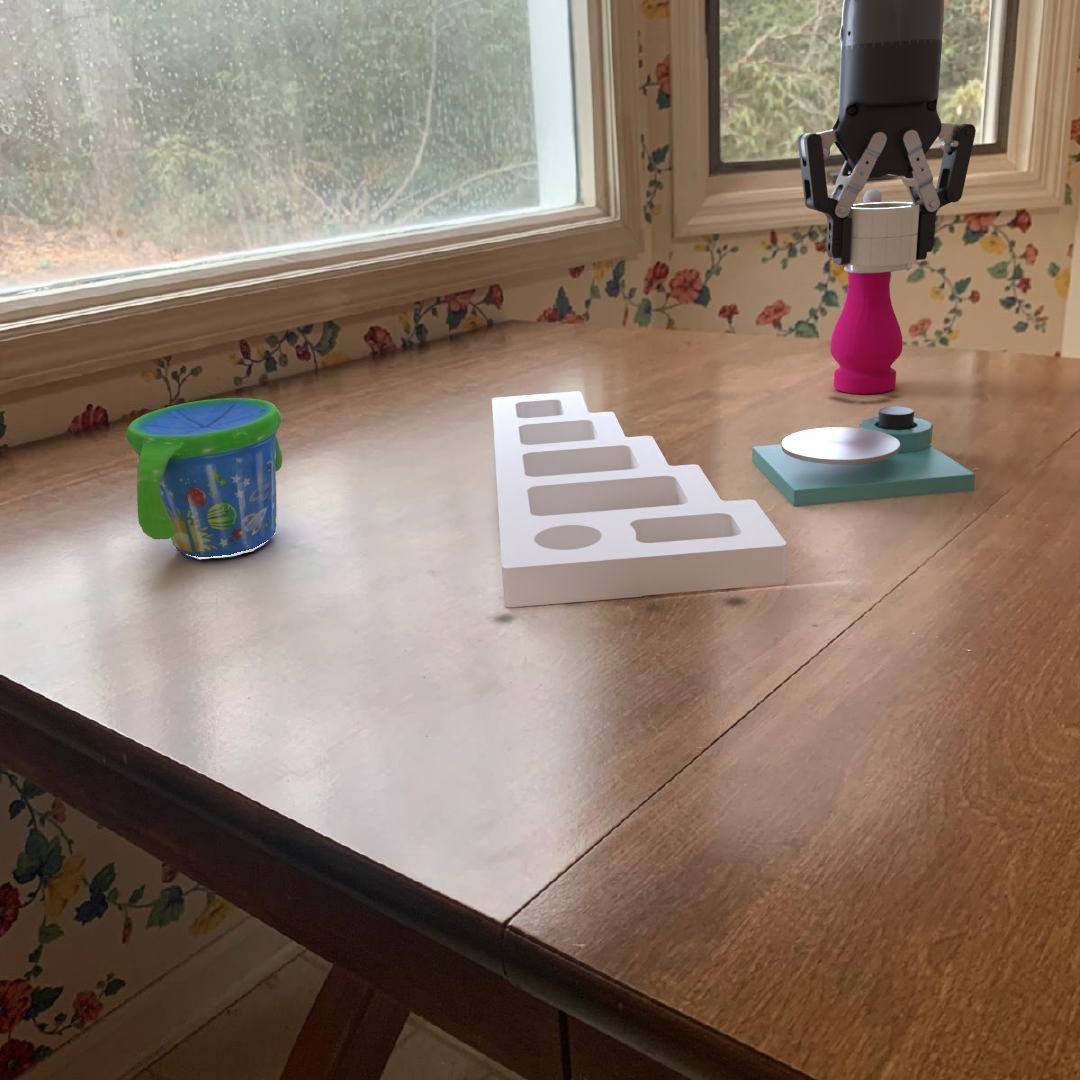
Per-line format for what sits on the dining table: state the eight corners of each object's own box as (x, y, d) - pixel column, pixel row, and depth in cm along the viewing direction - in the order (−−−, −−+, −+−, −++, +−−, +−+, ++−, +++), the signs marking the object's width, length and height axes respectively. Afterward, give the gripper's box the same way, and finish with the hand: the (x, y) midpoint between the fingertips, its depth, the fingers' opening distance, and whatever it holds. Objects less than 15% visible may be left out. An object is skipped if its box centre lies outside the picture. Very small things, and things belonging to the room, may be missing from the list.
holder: (493, 423, 111) (491, 397, 110) (669, 410, 111) (669, 384, 110) (505, 607, 69) (501, 568, 68) (787, 584, 69) (788, 545, 68)
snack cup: (216, 593, 74) (188, 449, 70) (98, 578, 78) (66, 441, 74) (341, 516, 87) (324, 391, 84) (235, 506, 91) (214, 387, 88)
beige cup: (899, 261, 93) (903, 200, 92) (926, 269, 88) (931, 205, 86) (833, 266, 93) (835, 205, 91) (856, 274, 88) (859, 210, 86)
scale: (913, 446, 95) (915, 413, 93) (978, 490, 83) (981, 453, 82) (750, 460, 94) (750, 427, 93) (793, 507, 82) (794, 469, 81)
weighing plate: (874, 427, 90) (874, 423, 90) (918, 458, 82) (919, 453, 82) (767, 437, 90) (767, 432, 89) (801, 469, 81) (801, 464, 81)
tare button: (905, 422, 92) (906, 405, 92) (918, 431, 90) (919, 413, 89) (873, 425, 92) (873, 407, 91) (885, 434, 89) (886, 416, 89)
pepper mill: (915, 386, 114) (927, 186, 107) (868, 399, 110) (877, 192, 103) (860, 376, 120) (868, 185, 112) (814, 388, 116) (819, 191, 109)
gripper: (814, 41, 81) (807, 273, 87) (1004, 30, 81) (984, 260, 87) (786, 48, 88) (781, 262, 94) (960, 37, 88) (945, 251, 94)
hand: (879, 260), depth 90 cm, fingers closed on beige cup, 6 cm apart
